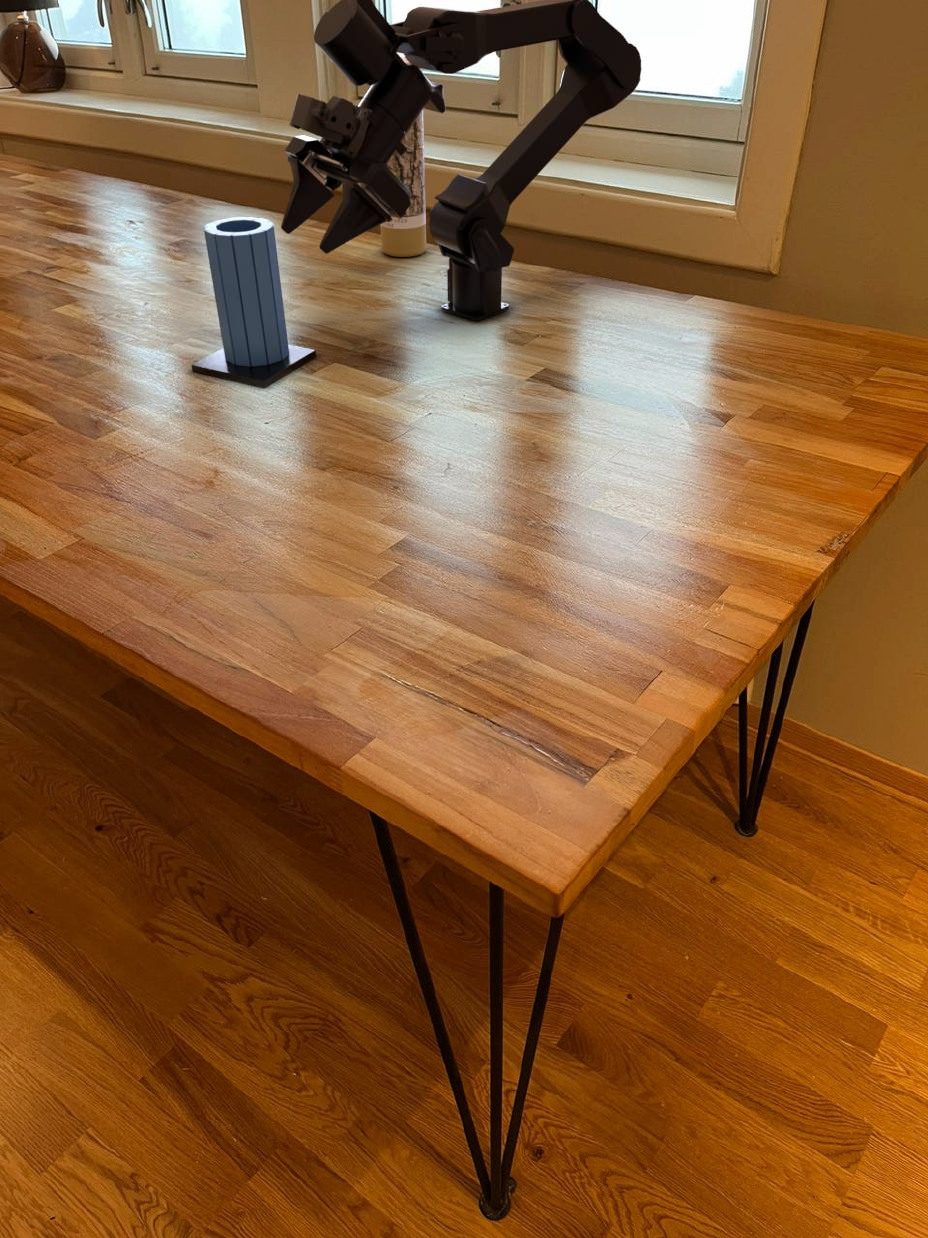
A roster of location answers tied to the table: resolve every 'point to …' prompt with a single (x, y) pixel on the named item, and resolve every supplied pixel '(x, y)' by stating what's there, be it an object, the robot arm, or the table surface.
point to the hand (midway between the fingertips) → (302, 240)
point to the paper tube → (409, 169)
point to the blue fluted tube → (247, 290)
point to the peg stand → (256, 374)
